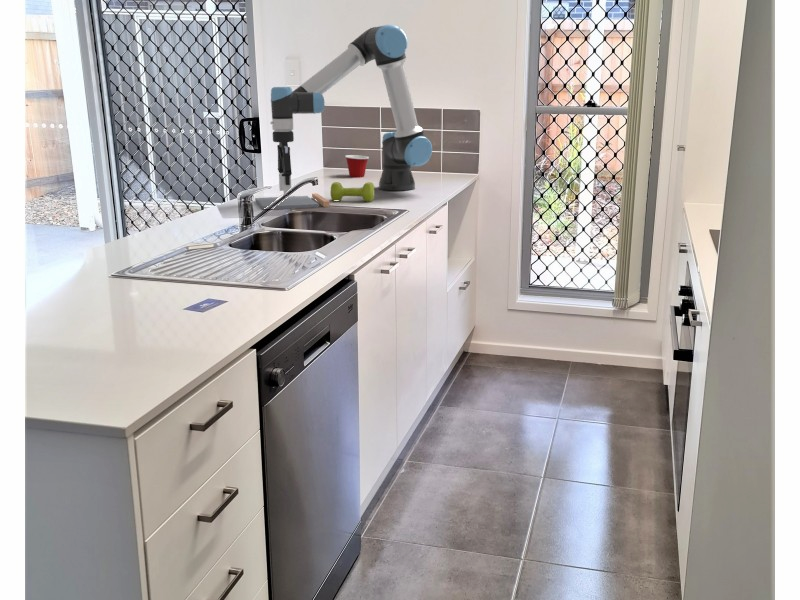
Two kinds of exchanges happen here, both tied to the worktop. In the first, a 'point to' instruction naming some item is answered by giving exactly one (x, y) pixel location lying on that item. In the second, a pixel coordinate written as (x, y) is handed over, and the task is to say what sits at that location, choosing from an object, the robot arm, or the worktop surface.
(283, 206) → the board
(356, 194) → the dumbbell
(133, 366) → the worktop surface
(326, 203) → the strip
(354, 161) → the plastic cup
